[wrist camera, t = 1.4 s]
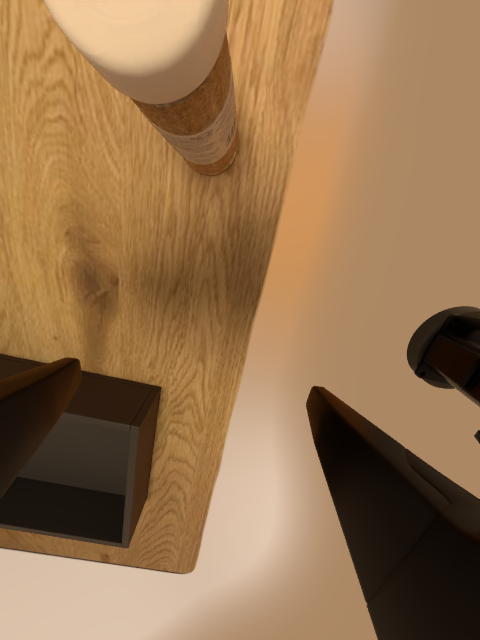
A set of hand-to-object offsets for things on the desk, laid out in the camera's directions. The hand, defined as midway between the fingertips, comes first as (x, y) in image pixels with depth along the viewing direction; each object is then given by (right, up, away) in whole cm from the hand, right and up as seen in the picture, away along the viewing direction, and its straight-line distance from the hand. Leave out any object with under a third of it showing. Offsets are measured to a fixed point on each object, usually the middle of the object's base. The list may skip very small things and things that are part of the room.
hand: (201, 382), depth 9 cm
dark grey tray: (-20, -11, +20) cm, 30 cm away
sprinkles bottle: (-1, +16, +9) cm, 18 cm away
